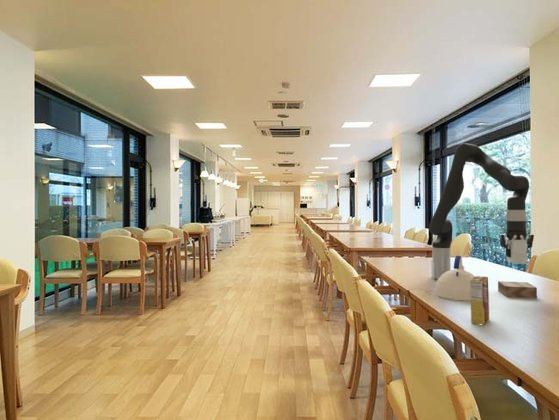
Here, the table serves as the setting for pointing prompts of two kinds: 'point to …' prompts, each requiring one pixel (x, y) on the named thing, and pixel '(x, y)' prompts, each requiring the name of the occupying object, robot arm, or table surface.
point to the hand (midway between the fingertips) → (516, 257)
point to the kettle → (455, 283)
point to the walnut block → (517, 289)
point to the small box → (518, 252)
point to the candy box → (479, 300)
